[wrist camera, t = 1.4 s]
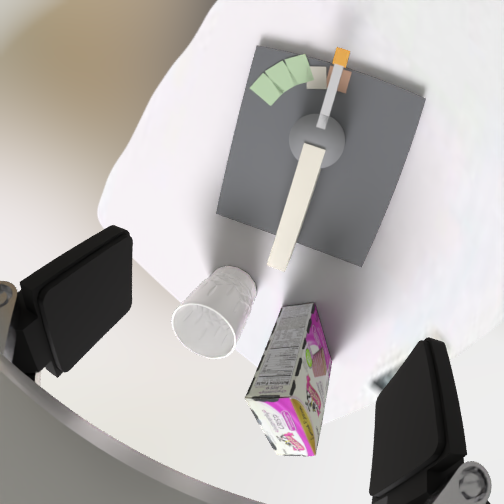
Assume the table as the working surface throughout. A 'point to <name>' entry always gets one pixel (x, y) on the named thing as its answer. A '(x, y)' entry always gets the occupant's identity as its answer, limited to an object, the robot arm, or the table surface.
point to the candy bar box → (292, 382)
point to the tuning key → (309, 165)
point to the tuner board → (330, 178)
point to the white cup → (215, 313)
